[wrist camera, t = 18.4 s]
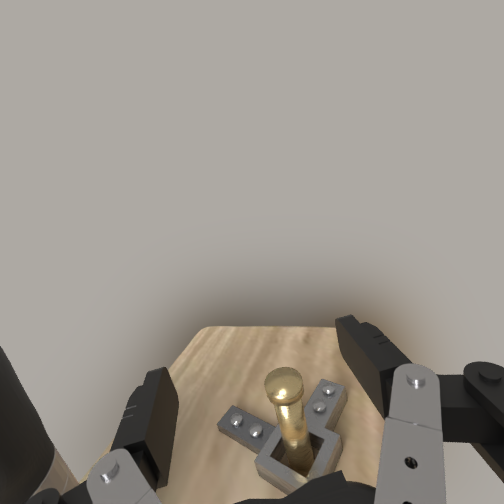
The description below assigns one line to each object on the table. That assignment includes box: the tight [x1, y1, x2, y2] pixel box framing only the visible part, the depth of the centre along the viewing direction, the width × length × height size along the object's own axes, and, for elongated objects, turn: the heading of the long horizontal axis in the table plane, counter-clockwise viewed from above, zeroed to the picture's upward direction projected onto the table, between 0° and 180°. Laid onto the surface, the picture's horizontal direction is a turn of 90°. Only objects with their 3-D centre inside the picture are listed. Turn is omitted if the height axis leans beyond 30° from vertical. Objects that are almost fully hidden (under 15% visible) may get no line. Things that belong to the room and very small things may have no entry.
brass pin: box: [264, 367, 314, 477], centre depth 36 cm, size 5×5×14 cm
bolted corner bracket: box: [217, 379, 347, 495], centre depth 44 cm, size 18×16×4 cm
